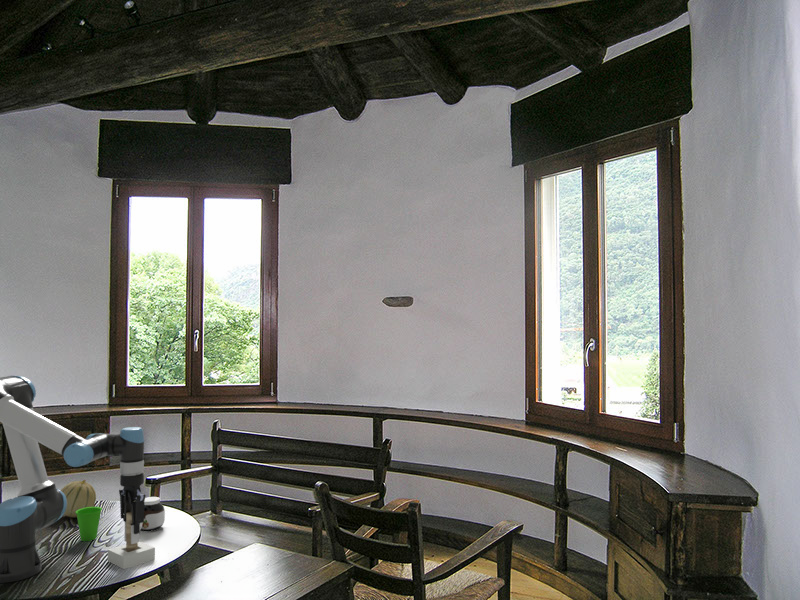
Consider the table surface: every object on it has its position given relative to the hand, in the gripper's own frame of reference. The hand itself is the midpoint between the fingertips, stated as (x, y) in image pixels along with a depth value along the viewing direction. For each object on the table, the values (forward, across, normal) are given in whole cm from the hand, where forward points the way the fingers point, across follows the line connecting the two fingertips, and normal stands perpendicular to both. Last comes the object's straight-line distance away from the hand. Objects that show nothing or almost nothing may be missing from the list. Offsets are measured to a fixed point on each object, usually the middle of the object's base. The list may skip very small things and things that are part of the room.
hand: (131, 541), depth 218 cm
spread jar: (+7, +25, -19) cm, 32 cm away
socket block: (+6, 0, 0) cm, 6 cm away
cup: (+6, +32, 0) cm, 33 cm away
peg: (+3, 0, 0) cm, 3 cm away
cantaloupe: (+6, +64, -10) cm, 65 cm away
